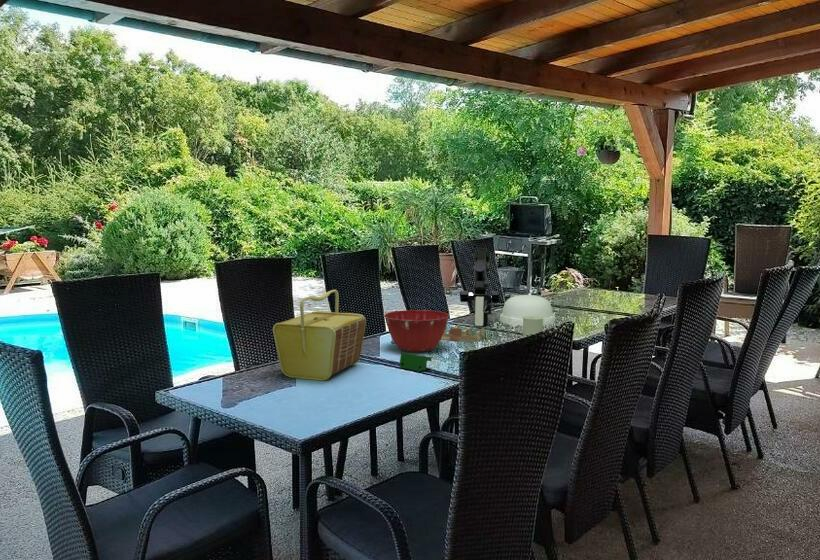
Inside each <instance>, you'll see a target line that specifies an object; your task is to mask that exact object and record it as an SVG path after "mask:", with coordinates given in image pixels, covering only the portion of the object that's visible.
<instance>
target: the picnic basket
mask: <svg viewBox="0 0 820 560" xmlns="http://www.w3.org/2000/svg"><path fill="white" fill-rule="evenodd" d="M333 293H334V294H335V300H334V301H335V302H334V304H335V305H334V306H335V307H334V312H333V311H320V310H319V311H318V310H317V311H310V312H309V313H306V314H305V309H304V305H305V302H306V301H309V300H311V301H313V302H320V301H323V300H325V299H327V298H328V297H329V296H330V295H331V294H333ZM339 297H340V296H339V291H338V290H337V289H331V290H329V291H327V292H325V293H323V294H322V295H319V296H307V297H304V298H302V299H301V300H300V304H299V312H300V313H299V314H300V316H296V317H293V318H290V319H288V320H284V321H282V322H276V323H275V324H274V325H273V327H272V334H273V338H274V343H275V347H276V351H277V352H276V353H277V357H278V363H279V366H280V371H281V373H283V375H285V376H287V377H289V378H294V379H303V380H311V381H312V380H314V381H326V380H329V379H330V378H331V376H333V375H335V374H337V373H340V372H341V371H342V370H345V369H347V368H349V367H350V366H351V365H356V364H358V362H360V359H361V354H362V348H363V341H364V337H365V331H366V326H367V319H366V317H365V316H364V315H363V314H361V313H351V312H350V313H349V312H339V302H340V301H339V299H340V298H339Z"/></svg>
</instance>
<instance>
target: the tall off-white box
mask: <svg viewBox="0 0 820 560" xmlns="http://www.w3.org/2000/svg"><path fill="white" fill-rule="evenodd" d="M483 306H484V297H479V296H476V302H475V314H474V324H475V325H474V326H477V327H484V326H483V313H484V312H483Z"/></svg>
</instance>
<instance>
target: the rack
mask: <svg viewBox="0 0 820 560" xmlns="http://www.w3.org/2000/svg"><path fill="white" fill-rule="evenodd" d="M472 330H473V329H472V327H471V326H470V327H469V326H468V327H467V328H465V330H462V328H460V326H459V325H457V326H455V327H450V328H449V330H448V333H447V327H446V328H445V331H444V333H443V335H442V338H441V340H440V341H447V342H449V341H450V342H458V341H466V342H465V343H469V342H477V341H479V340H480V341H482V340H483V339H485V328H484V327H481V329H479V330H477V331H476V332H474V335H472V334H473V333H472ZM482 338H483V339H482ZM481 339H482V340H481ZM480 341H479V342H480ZM477 343H478V342H477Z"/></svg>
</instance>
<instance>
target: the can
mask: <svg viewBox="0 0 820 560" xmlns="http://www.w3.org/2000/svg"><path fill="white" fill-rule="evenodd" d="M541 330H543V331H544V326H543V317H540V316H524V317H523V326H522V337H523V336H526V335H530V334H533V333H536V332H539V331H541Z"/></svg>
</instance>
